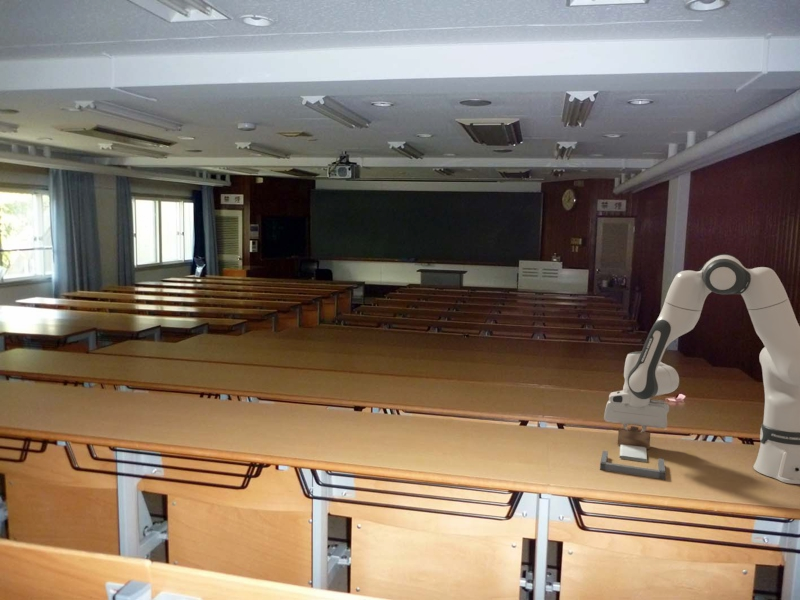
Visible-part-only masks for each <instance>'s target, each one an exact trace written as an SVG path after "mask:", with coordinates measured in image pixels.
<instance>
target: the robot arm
mask: <svg viewBox="0 0 800 600" xmlns="http://www.w3.org/2000/svg"><path fill="white" fill-rule="evenodd" d="M711 293H715V294H719V295H741V297H742V299H743V301H744V303H745V306H746V309H747V311H748V312H747V313H748V314H749V317H750V320H751V323H752V325H753V328H754V331H755V333H756V335H757V337H759V339H760V340H761V342H762V343H763V346H764V347H763V348H762V349H761V351H760V353H759V357H758V358H759V363H760V366H761V372H762V382H763V390H764V407H763V409H764V410H763V422H762V423H761V427H760V433H759V440H760V446H759V449H758V453H757V457H756V459H755V461H754V464H753V467H752V468H753V470H755V471H756V472H758V473H759V474H762V475H764V476H767V477H770V478H773V479H776V480H778V481H780V482H781V483H784V484H785V483H786V484H795V485H800V323H798V320H797V318H796V314H795V312H794V309H793V307H792V304H791V301H790V298H789V297H788V294H787V292H786V289H785V287H784V285H783V283H782V282H781V278H779V276H778V275H777V273H776V272H775V270H774V269H772V268H770V267H765V266H760V267H759V266H758V267H754V268H746V267H745V266H744V265H743V263H742V262H741V260H740V259H739V258H737V257H736V256H735V255H733V254H728V253H721V254H717V255H713V257H711V258H710V259H708V261H706V262H705V263H704V264H703V265H702V266H701V267H700V268H699V269H698V271H695V270H690V269H688V270H681V271H679V272H677V274H675V276H674V278H673V280H672V282H671V284H670V286H669V288H668V290H667V293H666V295H665V299H664V302H663V306H662V307H661V310H660V313H659V316H658V317H657V319H656V321H655V322H654V323H653V325H652V327H651V329H650V331H649V332H648V334H647V337H646V340H645V342H644V345H643V347H642V350H641V351H632V352H631V351H630V352H629V353H627V355H626V358H625V362H624V368H623V377H624V378H623V379H624V384H623V387H622V390H617V391H613V392H612V391H611V392H610V393H609V395H608V401H607V402H606V406H605V410H604V415H603V419H604V421H605V422H607V423H614V424H615V423H616V424H622V427H623V430H628V428H627V427H628V425H630V426H637V427H641V429H642V430H641V431H640V432H646V431H647V428H657V429H665V428H667V427H668V417H667V415H668V413H669V412H670V405H669V404H668V402H666V401H665V400H663V399H662V400H658V399H652V398H653V397H658V396H662V395H667V394H670V393H673V392H675V391H676V390H677V389H678V388H679V386H680V380H681V379H680V375H679V372H678V371H677V369H676V368H674V367H673V366H671V365H670V364H669V365H668V364H666V363H663V362H662V359H663V357H664V354H665V352H666V349H667V347H668V346H670V344H671V343H672V342H674V341H675V340H676V339H678V338H679V337H681V336H683V335H685V334H687V333H689V332H691V331H692V330H694V328H695V326H696V325H697V323H698V321H699V320H700V317H701V313H702V311H703V307H704V304H705V301H706V299H707V297H708V296H709V294H711Z"/></svg>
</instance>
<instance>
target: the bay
mask: <svg viewBox="0 0 800 600" xmlns="http://www.w3.org/2000/svg"><path fill="white" fill-rule="evenodd" d="M601 453H602V454H601V457H600V463H599V470H601V471H606V472H615V473H619V474H620V473H621V474H627V475H633V476H639V477H647V478H653V479H660V480H666V465H665V459H664V458H658V461H657V462H658V463H657V464H658V465H657V466H658V469H655V468H654V469H652V468H648V467H647V468H646V467H640V466H634V465H626V464H621V463H620V464H618V463H614V462H613V463H612V462H608V450H602V452H601Z"/></svg>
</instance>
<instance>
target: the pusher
mask: <svg viewBox="0 0 800 600" xmlns="http://www.w3.org/2000/svg"><path fill="white" fill-rule="evenodd" d="M621 444H623V445H631V446H639V447H645V448H646V449H648V450H649V449H650V446H651V445H650V444H651V432H646V431H645V432H641V431H639V426H638V425H630V430H628V429H627V430H624V429H622V428H619V429H618V431H617V445H618V446H620V445H621Z"/></svg>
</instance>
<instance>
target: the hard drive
mask: <svg viewBox="0 0 800 600" xmlns="http://www.w3.org/2000/svg"><path fill="white" fill-rule="evenodd" d="M647 453H648V452H647V448H645V447H639V446H631V445H623V444H621V445H619V457H618V458H621V460H627V461H635V462H643V463H648V456H647V455H648V454H647Z"/></svg>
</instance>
